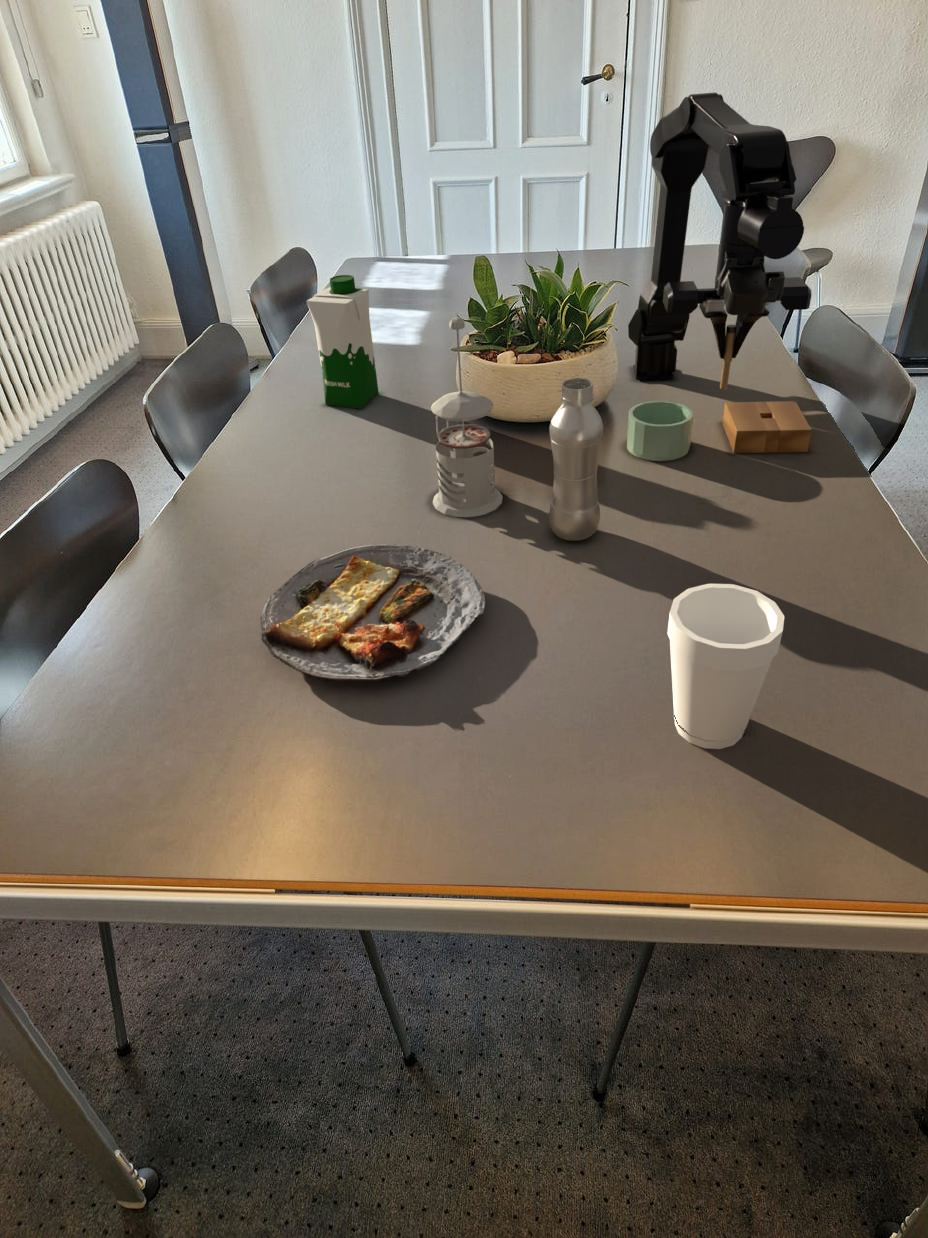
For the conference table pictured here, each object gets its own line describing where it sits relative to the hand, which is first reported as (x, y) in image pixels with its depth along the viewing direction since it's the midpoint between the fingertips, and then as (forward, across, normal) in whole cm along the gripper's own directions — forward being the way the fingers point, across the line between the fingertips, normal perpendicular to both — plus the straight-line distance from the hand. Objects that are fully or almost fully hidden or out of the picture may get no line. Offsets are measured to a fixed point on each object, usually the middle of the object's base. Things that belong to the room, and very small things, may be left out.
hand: (727, 357), depth 121 cm
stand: (+13, +7, +1) cm, 15 cm away
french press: (+13, -37, -16) cm, 42 cm away
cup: (+13, -9, -2) cm, 16 cm away
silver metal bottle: (+13, -22, -26) cm, 37 cm away
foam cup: (+13, -11, -62) cm, 64 cm away
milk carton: (+13, -60, +20) cm, 64 cm away
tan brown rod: (+4, 0, 0) cm, 4 cm away
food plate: (+13, -45, -45) cm, 65 cm away
